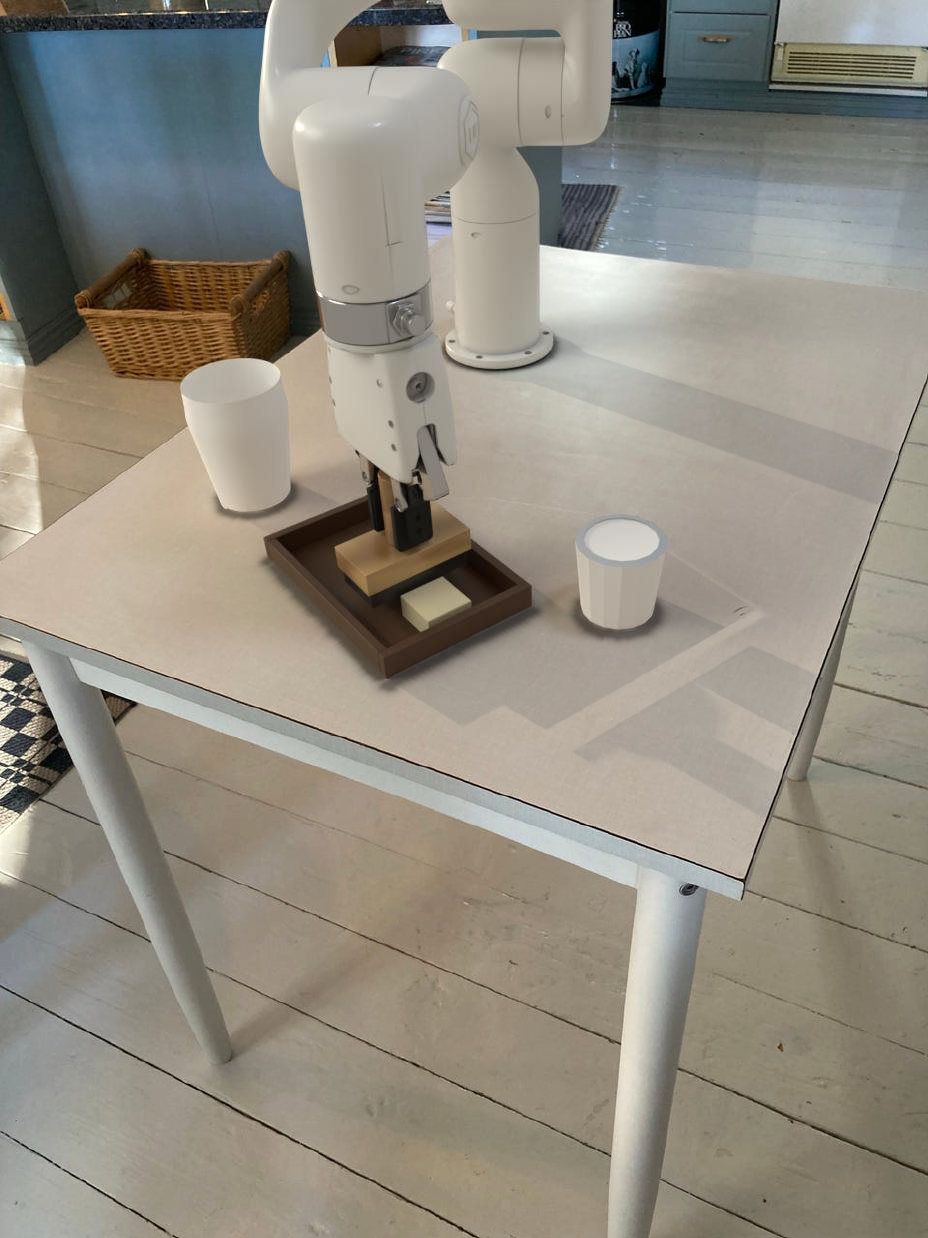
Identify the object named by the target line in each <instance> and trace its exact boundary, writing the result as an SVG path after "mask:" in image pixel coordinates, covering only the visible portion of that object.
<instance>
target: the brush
mask: <svg viewBox="0 0 928 1238" xmlns="http://www.w3.org/2000/svg"><path fill="white" fill-rule="evenodd" d="M378 481H379V488H380V496H381V504H382V511H383V519H384V527H385V530H383V531H381V532H376V531H375V530H372V531H370V532H367V533H365V534H363V535H360V536H358V537H356V538H354V539H351V540H349V541H347V542H344V543H342V544H340V545H338V546H335V552H336V558H337V564H338V567H339V568H340V569H341V570H342V571H343V572H344V578H345V582H346V583H347V584H348V585H349V586H350V587H351V588H353V589H354V590H355V591H356V592H357V593H358V594H359V595H360V596H361V597H362V598H363V599H364V600H365V601H366V602H367V603H368V604H369V605H370V606H371V607H372V608H373V609H374V608H376V607H378V606H380V605H382V604H384V603H386V602H388V601H391V600H393V599H395V598H397V597H399V596H401V595H403V594H405V593H407V592H409V591H412V590H414V589H416V588H418V587H420V586H422V585H424V584H426V583H428V582H430V581H433V580H435V579H437V578H439V577H441V576H443V575H445V574H447V573H449V572H451V571H454V570H456V569H458V568H460V567H462V566H464V565H466V564H468V561H467V550H469V549H471V539H472V538H471V537H472V536H471V528H470V527H469V526H468V525H466V524H465V523H463V522H462V520H460V519H458V518H457V517H456V516H454V515H453V514H452V513H451V512H449V511H448V510H447V509H445V508H444V507H443V506H442V505H440V504H439V503H438V502H434V503H430V505H431V515H432V526H433V537H432V538H431V539H430V540H428V541H426V542H424V543H422V544H419V545H417V546H415V547H413V548H411V549H408V550H406V551H404V552H399V551H398V550H397V549H396V548H395V544H394V536H393V528H392V520H391V512H390V507H392V506H394V505H395V503H394V498H393V491H392V485H391V479H390V476H389V475H388V474H386V473H385V472H384V471H382V470H381V469H380V470H379V472H378ZM414 484H415V483H414V478H413V479H412V481H411V483H408V484H407V483H405V485H406V490H407V489H408V488H409V487H410V486H412V485H414Z"/></svg>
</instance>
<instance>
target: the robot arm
mask: <svg viewBox="0 0 928 1238" xmlns="http://www.w3.org/2000/svg"><path fill="white" fill-rule="evenodd" d="M381 1H382V0H271V3H270V7H269V10H268V13H267V17H266V22H265V27H264V38H263V49H262V58H261V70H260V80H259V91H258V92H259V94H258V130H259V131H258V132H259V139H260V144H261V150H262V154H263V156H264V159H265V162H266V164H267V167H268V169H269V170H270V171H271V173H272V175H273V176H274V177H275V178H276V179H277V180H278V181H279V182H280V183H281V184H283V185H284V186H285V187H287V188H290V189H291V190H295V191H298V192H299V193H300V194H299V195H300V200H301V207H302V213H303V220H304V225H305V232H306V238H307V239H306V240H307V245H308V252H309V258H310V264H311V270H312V276H313V277H312V278H313V284H314V290H315V296H316V303H317V308H318V315H319V321H320V327H321V333H322V338H323V340H324V342H326V354H327V368H328V377H329V378H328V379H329V386H330V387H329V388H330V394H331V401H332V407H333V408H332V409H333V413H334V418H335V422H336V427H337V429H338V432H339V434H340V436H342V438H343V439H344V440H345V442H346V443H347V444H349V445H350V446H351V447H352V448H353V449H354V451H355V454H356V455H357V456H358V458H359V463H360V464H359V466H360V473H361V475H360V476H361V478H362V481H363V482H364V484H365V485H367V487H366V495H367V497H368V504H369V511H370V518H371V525H372V528H373V529H374V530H375V531H376V532H381V531H383V530H385V527H384V519H383V511H382V504H381V496H380V488H379V481H378V472H379V470H380V469H381V470H382V471H384V472H385V473H386V474H388V475H389V476H390V479H391V485H392V491H393V498H394V503H395V505H394V506H392V507H390V512H391V520H392V528H393V536H394V544H395V548H396V549H397V550H398V551H399V552H404V551H406V550H408V549H411V548H413V547H415V546H417V545H419V544H422V543H424V542H426V541H428V540H430V539H431V538H432V537H433V526H432V515H431V502H436V501H437V500H440V499H442V498H445V497H447V496H448V495H450V488H449V485H448V482H447V478H446V476H445V472H444V470H443V466H442V464H443V465H445V466H447V467H450V466H454V465H456V463H457V461H458V442H457V441H458V440H457V433H456V431H457V430H456V423H455V415H454V407H453V401H452V394H451V389H450V383H449V378H448V371H447V368H446V363H445V359H444V356H443V351H442V348H441V344H440V341H439V338H438V337H439V336H437V334H436V333H434V332H433V331H434V328H435V315H434V304H433V290H432V280H431V279H432V278H431V265H430V253H429V252H430V251H429V240H428V229H427V227H428V226H427V219H426V205H425V204H426V203H428V202H430V201H432V200H434V199H435V198H437V197H440V196H441V195H443V194H445V193H446V192H448V191H449V202H450V203H449V204H450V215H451V217H450V218H451V219H450V220H451V234H452V251H453V269H454V284H455V287H454V288H455V298H454V300H453V299H449V300H448V301H447V302H446V304H445V309H446V311H448V313H449V312H450V313H451V314H453V315H454V326H455V327H453V328H452V329H451V330H450V331H449V332H448V333H447V334H446V336H445V341H444V343H445V351H446V353H447V355H448V356H449V357H450V358H451V359H452V360H454V361H456V362H458V363H460V364H462V365H465V366H468V367H472V368H477V369H478V368H479V369H484V370H485V369H486V370H505V369H513V368H518V367H519V368H520V367H522V366H523V367H524V366H527V365H530V364H532V363H535V362H537V361H539V360H541V359H543V358H544V357H546V356H547V355H548V354H549V353H550V352H551V351H552V350H553V346H554V334H553V331H552V330H551V329H550V327H548V326H547V325H546V324H544V323H543V322H541V283H540V281H541V280H540V279H541V278H540V277H541V275H540V273H541V270H540V269H541V267H540V265H541V263H540V262H541V260H540V259H541V258H540V255H541V254H540V252H541V251H540V247H541V245H540V244H541V243H540V241H541V240H540V239H541V238H540V237H541V235H540V234H541V233H540V231H541V230H540V229H541V227H540V190H539V189H540V188H539V185H538V182H537V179H536V177H535V174H534V173H533V171H532V169H531V167H530V166H529V164H528V163H527V162H526V160H525V159H524V157H523V156H522V155H521V153H520V151H519V150H518V149H517V148H525V147H565V146H569V147H570V146H582V145H587V144H591V143H593V142H595V141H596V140H598V139H599V138H600V137H601V135H603V133H604V131H605V129H606V126H607V125H608V121H609V117H610V111H611V104H612V103H611V101H612V84H613V83H612V81H613V24H614V22H613V21H614V20H613V18H614V16H613V15H614V0H441V4H442V7H443V10H444V12H445V14H446V16H447V18H448V19H449V21H451V23H453V24H454V25H455V26H458V27H459V28H462V29H466V30H471V31H484V32H485V31H486V32H489V31H490V32H492V31H493V32H496V31H497V32H500V31H502V32H503V31H504V32H505V31H538V30H540V31H541V30H542V31H543V30H544V31H545V30H546V31H547V30H550V31H551V30H553V31H555V32H557V33H558V34H559V36H552V37H551V36H550V37H549V36H548V37H547V36H546V37H526V36H523V37H519V36H518V37H483V38H476V39H475V38H474V39H470V40H465V41H461V42H459V43H457V44H455V45H453V46H451V47H450V48H448V49H447V50H446V51H445V52H444V53H443V54H442V55H441V57H440V58H439V60H438V62H437V65H436V67H435V66H422V65H421V66H420V65H419V66H417V65H416V66H415V65H414V66H381V65H363V66H362V65H361V66H360V65H359V66H357V65H356V66H322V64H323V61H324V58H325V56H326V53H327V52H328V49H329V48H330V46H331V44H332V42H333V41H334V40H335V39H336V37H337V36H338V35H339V33H340V32H341V31H342V30H343V29H344V28H345V27H346V26H347V25H348V24H349V23H350V22H351V21H352V20H353V19H355V18H356V17H357V16H358V15H360V14H361V13H363V12H364V11H366V10H367V9H369V8H370V7H372V6H373V5H375V4H378V3H379V2H381ZM441 463H442V464H441ZM415 477H416V478H417V482H416V483H414V485H412V486H410V487H409V488H408V489H407V490H406V485H405V483H407V484H408V483H411V481H412V479H413V480H414V478H415Z"/></svg>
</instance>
